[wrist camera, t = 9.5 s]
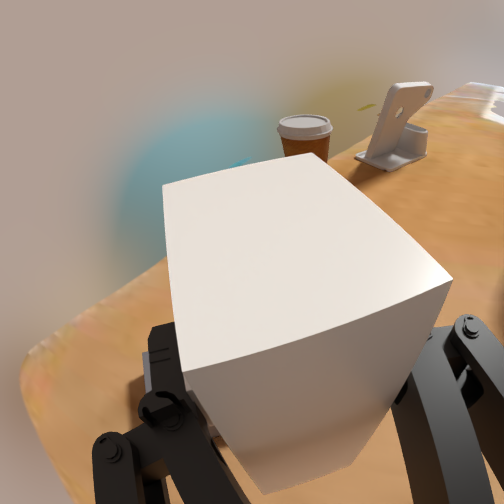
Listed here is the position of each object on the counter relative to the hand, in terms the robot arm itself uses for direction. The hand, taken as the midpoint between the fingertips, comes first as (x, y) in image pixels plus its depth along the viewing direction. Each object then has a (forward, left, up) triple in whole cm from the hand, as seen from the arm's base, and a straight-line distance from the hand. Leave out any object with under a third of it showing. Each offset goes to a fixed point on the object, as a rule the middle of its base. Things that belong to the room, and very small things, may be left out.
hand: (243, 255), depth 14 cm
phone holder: (-44, -43, -19) cm, 64 cm away
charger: (0, +5, -8) cm, 10 cm away
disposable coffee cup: (-20, -38, -18) cm, 47 cm away
